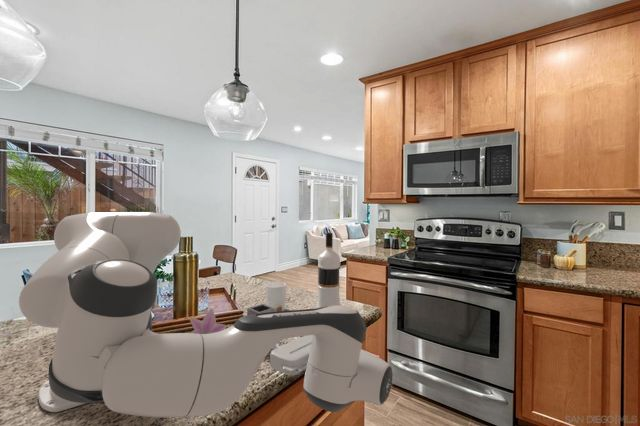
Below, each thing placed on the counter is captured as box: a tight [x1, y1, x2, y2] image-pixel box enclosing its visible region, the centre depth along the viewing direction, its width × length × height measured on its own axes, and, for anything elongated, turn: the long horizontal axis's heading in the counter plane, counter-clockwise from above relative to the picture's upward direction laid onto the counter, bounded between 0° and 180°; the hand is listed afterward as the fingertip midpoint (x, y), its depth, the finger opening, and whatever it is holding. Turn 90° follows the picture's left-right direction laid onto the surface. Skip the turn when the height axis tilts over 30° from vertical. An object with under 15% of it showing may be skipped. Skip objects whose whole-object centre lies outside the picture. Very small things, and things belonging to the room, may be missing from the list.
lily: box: [189, 308, 227, 334], centre depth 87 cm, size 12×12×10 cm
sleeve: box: [246, 303, 275, 316], centre depth 88 cm, size 8×8×11 cm
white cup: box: [265, 281, 288, 310], centre depth 117 cm, size 8×8×10 cm
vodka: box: [315, 232, 341, 309], centre depth 115 cm, size 9×9×30 cm
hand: (287, 338), depth 80 cm, fingers open, 8 cm apart
